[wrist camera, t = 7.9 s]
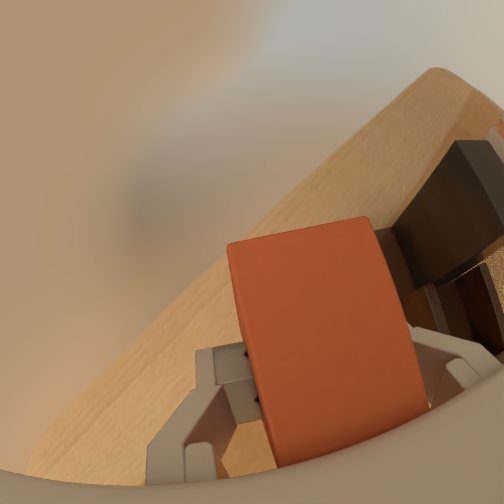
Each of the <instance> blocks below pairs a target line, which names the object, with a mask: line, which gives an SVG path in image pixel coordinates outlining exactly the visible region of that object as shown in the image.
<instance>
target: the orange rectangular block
mask: <svg viewBox="0 0 504 504" xmlns="http://www.w3.org/2000/svg"><path fill="white" fill-rule="evenodd" d="M227 255H228V261H229V267H230V273H231V279H232V285H233V291H234V297H235V303H236V309H237V315H238V320H239V326H240V330H241V335H242V339H243V341H245V344H246V348H247V352H248V356H249V359H250V363H251V367H252V371H253V375H254V379H255V383H256V388H257V392H258V397H259V401H260V405H261V409H262V414H263V419H262V421H263V425H264V428H265V431H266V434H267V438H268V441H269V444H270V447H271V450H272V453H273V456H274V459H275V462H276V465H277V468H281V467H285V466H289V465H293V464H297V463H300V462H304V461H307V460H311V459H314V458H317V457H321V456H324V455H327V454H330V453H333V452H336V451H339V450H342V449H345V448H347V447H350V446H353V445H356V444H358V443H361V442H363V441H366V440H368V439H371V438H373V437H376V436H378V435H380V434H383V433H385V432H387V431H390V430H392V429H394V428H396V427H398V426H401V425H403V424H405V423H407V422H409V421H411V420H413V419H415V418H417V417H419V416H421V415H423V414H425V413H427V412H429V411H430V410H429V406H428V401H427V396H426V392H425V388H424V383H423V379H422V375H421V371H420V367H419V363H418V360H417V356H416V352H415V349H414V345H413V341H412V338H411V335H410V331H409V328H408V325H407V321H406V318H405V315H404V312H403V309H402V306H401V303H400V300H399V297H398V294H397V291H396V288H395V285H394V282H393V279H392V277H391V274H390V271H389V268H388V266H387V263H386V260H385V258H384V255H383V253H382V250H381V248H380V245H379V242H378V240H377V238H376V235H375V233H374V230H373V228H372V225H371V223H370V221H369V218H368V217H366V216H363V217H358V218H353V219H348V220H343V221H338V222H332V223H327V224H322V225H317V226H312V227H307V228H302V229H297V230H292V231H288V232H283V233H278V234H273V235H268V236H263V237H258V238H253V239H249V240H244V241H239V242H234V243H230V244H228V245H227Z"/></svg>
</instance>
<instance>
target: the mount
mask: <svg viewBox="0 0 504 504" xmlns="http://www.w3.org/2000/svg"><path fill="white" fill-rule="evenodd" d="M374 233H375V235H376V238H377V240H378V242H379V245H380V248H381V250H382V253H383V255H384V258H385V260H386V263H387V266H388V268H389V271H390V274H391V277H392V279H393V282H394V285H395V288H396V291H397V294H398V297H399V300H400V303H401V306H402V309H403V312H404V315H405V318H406V321H407V322H408V323H409V324H410V325H411V326H412V327H413V328H415V327H420V328H424V329H428V330H431V331H435V332H438V333H442V334H446V335H449V336H453V337H457V338H460V339H464V340H468V341H472V342H475V343H479V344H481V345H482V346H483V347H484V348H485V349H486V350H487V351H489V352H490V353H491V354H492V355H493V356H494V357H495V358H496V359H497V360H498V361H499V362H500V363H501V364H504V314H503V310H502V307H501V304H500V301H499V298H498V295H497V292H496V289H495V286H494V283H493V280H492V277H491V275H490V272H489V269H488V267H487V264H486V262H484V263H482V264H480V265H478V266H476V267H475V268H473V269H472V270H470V271H469V272H467V273H466V274H464V275H461V274H463V273H464V272H466V271H467V270H469V269H470V268H472V267H473V266H475V265H476V264H478V263H479V262H481V261H482V260H484V259H485V258H487V257H488V256H490V255H491V254H492V253H494V252H495V251H497V250H498V249H500V248H501V247H502V246H504V164H503V162H502V160H501V159H500V157H499V156H498V154H497V153H496V151H495V150H494V148H493V147H492V145H491V144H490V142H489V141H488V140H455V141H454V143H453V144H452V146H451V147H450V149H449V150H448V151H447V153H446V154H445V156H444V157H443V159H442V160H441V162H440V163H439V164H438V166H437V167H436V169H435V170H434V171H433V173H432V174H431V176H430V177H429V178H428V180H427V181H426V182H425V184H424V185H423V187H422V188H421V189H420V191H419V192H418V193H417V195H416V196H415V197H414V199H413V200H412V201H411V202H410V204H409V205H408V206H407V208H406V209H405V210H404V212H403V213H402V214H401V215H400V217H399V218H398V219H397V220H396V222H395V223H394V224H393V225H392V227H389V228H384V229H380V230H375V231H374Z"/></svg>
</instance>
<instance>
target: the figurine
mask: <svg viewBox="0 0 504 504" xmlns="http://www.w3.org/2000/svg"><path fill="white" fill-rule="evenodd" d="M500 118H501V120H500V122H499V123H498V125H494V126H492V127H491V129H490V130H489V132H488V133H487V134H486V136H485V137H484V138H483V140H488V141H489V142H490V144H491V145H492V147H493V148H494V150H495V151H496V153H497V154H498V156H499V157H500V159H501V160H502V162H503V164H504V112H503V113H502V114H501V116H500Z"/></svg>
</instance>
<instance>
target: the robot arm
mask: <svg viewBox="0 0 504 504" xmlns="http://www.w3.org/2000/svg"><path fill="white" fill-rule="evenodd" d="M407 325H408V328H409V331H410V335H411V338H412V341H413V345H414V349H415V352H416V356H417V360H418V363H419V367H420V371H421V375H422V379H423V383H424V388H425V392H426V396H427V401H428V402H430V403H432V406H431V408H430V411H429V412H427V413H425V414H423V415H421V416H419V417H417V418H415V419H413V420H411V421H409V422H407V423H405V424H403V425H401V426H398V427H396V428H394V429H392V430H390V431H387V432H385V433H383V434H380V435H378V436H376V437H373V438H371V439H368V440H366V441H363V442H361V443H358V444H356V445H353V446H350V447H347V448H345V449H342V450H339V451H336V452H333V453H330V454H327V455H324V456H321V457H317V458H314V459H311V460H307V461H304V462H300V463H297V464H293V465H289V466H285V467H281V468H277V469H273V470H268V471H264V472H259V473H254V474H249V475H244V476H238V477H232V478H230V477H229V475H228V473H227V471H226V469H225V468H224V466H223V464H222V462H221V459H222V457H223V455H224V453H225V451H226V449H227V447H228V444H229V442H230V440H231V438H232V436H233V434H234V432H235V429H236V427H237V425H238V424H243V423H247V422H251V421H255V420H259V419H263V414H262V409H261V405H260V401H259V397H258V392H257V388H256V383H255V379H254V375H253V371H252V367H251V363H250V359H249V356H248V352H247V348H246V344H245V341H243V342H238V343H233V344H227V345H222V346H217V347H213V348H206V349H201V350H196V353H195V365H196V389H194V390H191V391H190V393H189V394H188V395H187V396H186V398H185V399H184V400H183V402H182V403H181V404H180V406H179V407H178V408H177V409H176V411H175V412H174V413H173V415H172V416H171V417H170V418H169V420H168V421H167V422H166V424H165V425H164V426H163V427H162V429H161V430H160V431H159V432H158V434H157V435H156V436H155V437H154V439H153V440H152V441H151V442H150V444H149V445H148V446H147V459H146V479H145V486H115V485H95V484H82V483H72V482H64V481H56V480H49V479H43V478H37V477H32V476H27V475H22V474H17V473H13V472H8V471H5V470H0V504H504V365H503V364H501V363H500V362H499V361H498V360H497V359H496V358H495V357H494V356H493V355H492V354H491V353H490V352H489V351H487V350H486V349H485V348H484V347H483V346H482V345H481V344H479V343H475V342H472V341H468V340H464V339H460V338H457V337H453V336H449V335H446V334H442V333H438V332H435V331H431V330H428V329H424V328H420V327H415V328H413V327H412V326H411V325H410V324H409V323H408V322H407Z"/></svg>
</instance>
